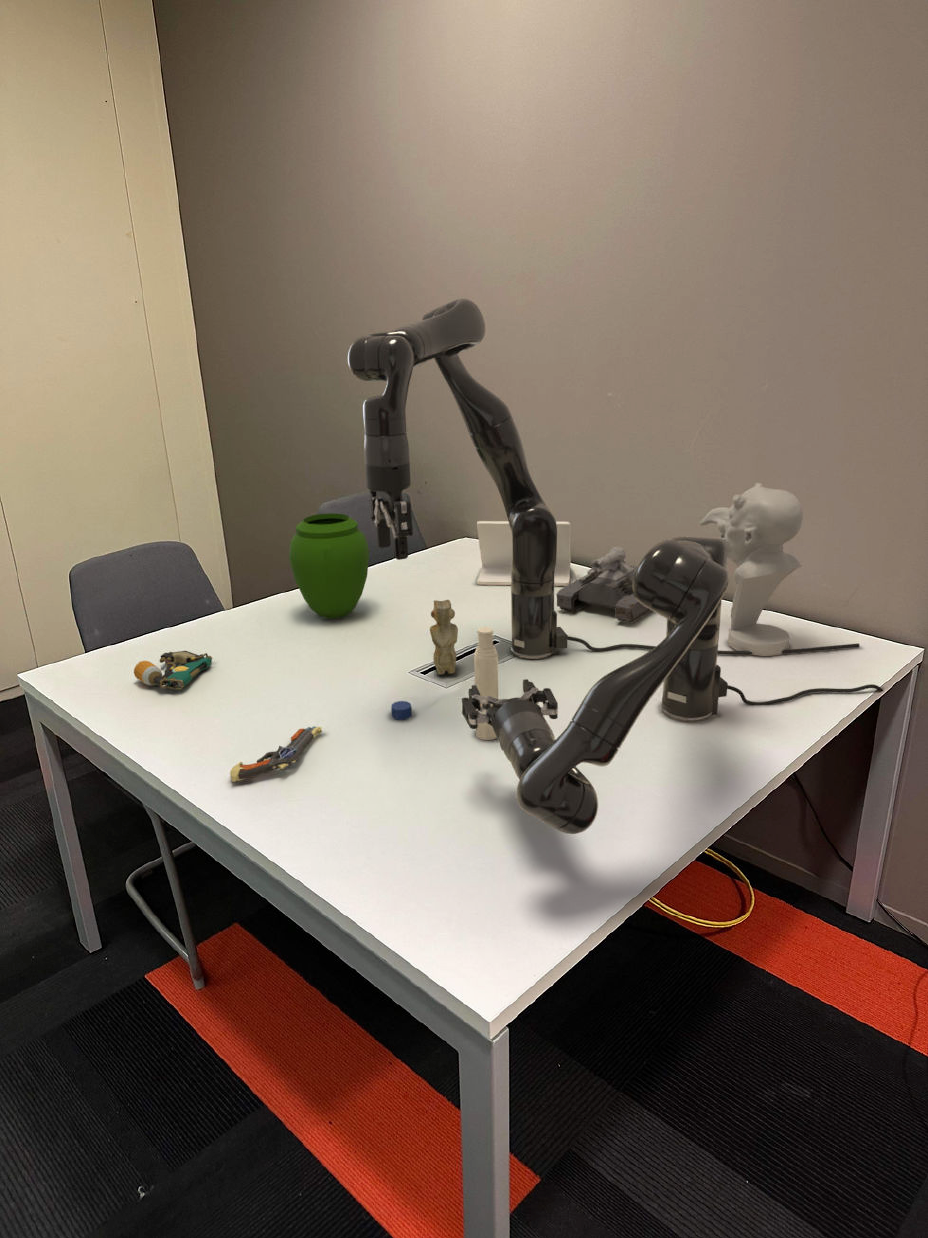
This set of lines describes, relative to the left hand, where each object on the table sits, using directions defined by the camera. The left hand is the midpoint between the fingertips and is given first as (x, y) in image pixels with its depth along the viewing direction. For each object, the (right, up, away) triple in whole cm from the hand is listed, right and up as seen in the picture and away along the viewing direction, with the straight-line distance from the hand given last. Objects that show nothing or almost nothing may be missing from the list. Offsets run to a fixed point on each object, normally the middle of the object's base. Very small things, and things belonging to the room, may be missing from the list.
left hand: (392, 552), depth 150 cm
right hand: (+18, -23, -12) cm, 31 cm away
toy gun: (-20, -36, -3) cm, 41 cm away
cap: (+1, -28, +11) cm, 30 cm away
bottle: (+17, -32, +3) cm, 37 cm away
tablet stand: (+30, 0, +89) cm, 94 cm away
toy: (+51, -8, +65) cm, 83 cm away
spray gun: (-48, -24, +31) cm, 62 cm away
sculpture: (+9, -23, +30) cm, 38 cm away
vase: (-20, -11, +64) cm, 68 cm away
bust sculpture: (+74, -17, +40) cm, 86 cm away
